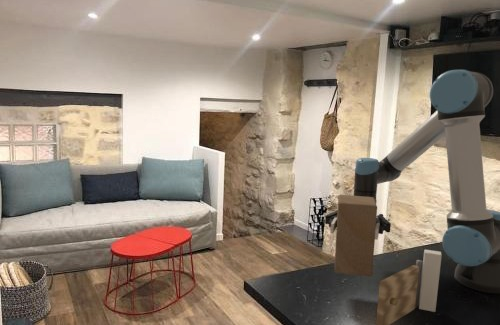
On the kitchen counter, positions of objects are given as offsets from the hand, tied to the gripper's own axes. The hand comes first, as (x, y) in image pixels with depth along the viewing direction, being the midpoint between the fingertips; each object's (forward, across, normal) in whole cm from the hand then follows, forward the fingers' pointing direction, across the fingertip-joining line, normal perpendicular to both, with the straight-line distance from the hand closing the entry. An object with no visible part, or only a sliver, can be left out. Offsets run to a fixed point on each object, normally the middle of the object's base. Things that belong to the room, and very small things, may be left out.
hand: (353, 231), depth 108 cm
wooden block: (-4, 0, -12) cm, 13 cm away
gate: (+5, -13, -20) cm, 24 cm away
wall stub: (-4, -20, -20) cm, 29 cm away
